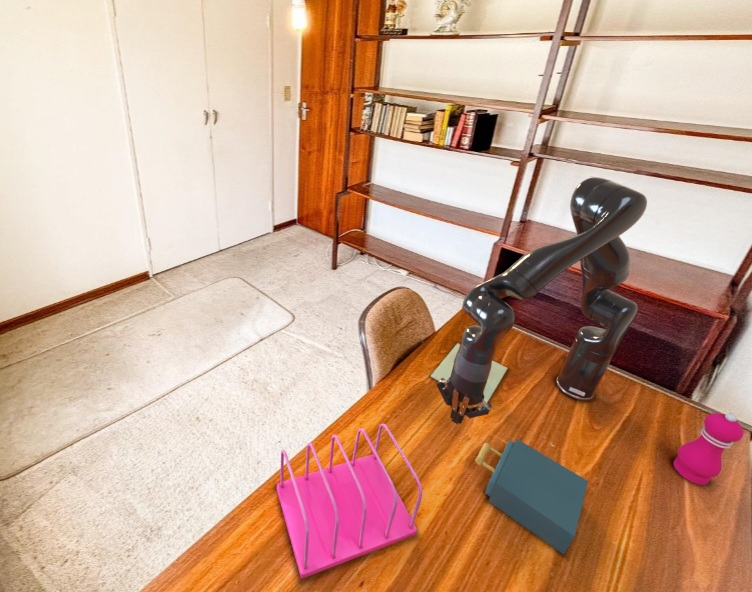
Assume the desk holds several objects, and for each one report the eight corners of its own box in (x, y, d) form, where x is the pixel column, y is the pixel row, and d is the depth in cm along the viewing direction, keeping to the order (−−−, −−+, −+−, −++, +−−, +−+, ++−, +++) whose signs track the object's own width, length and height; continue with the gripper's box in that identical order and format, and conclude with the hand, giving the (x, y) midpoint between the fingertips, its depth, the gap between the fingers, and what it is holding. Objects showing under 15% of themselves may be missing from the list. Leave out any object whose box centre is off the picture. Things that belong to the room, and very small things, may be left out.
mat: (457, 344, 133) (457, 343, 133) (507, 369, 123) (507, 367, 123) (430, 376, 120) (431, 375, 119) (484, 407, 110) (484, 405, 110)
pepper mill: (718, 490, 91) (766, 432, 82) (682, 483, 92) (726, 425, 84) (696, 461, 97) (739, 404, 89) (663, 455, 99) (702, 398, 90)
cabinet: (488, 501, 87) (495, 482, 84) (509, 456, 97) (516, 438, 94) (563, 554, 78) (574, 536, 75) (577, 499, 88) (588, 481, 85)
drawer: (466, 479, 90) (470, 466, 88) (486, 441, 99) (491, 428, 97) (552, 540, 80) (560, 527, 78) (566, 491, 89) (574, 478, 87)
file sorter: (276, 488, 88) (277, 441, 81) (375, 457, 95) (384, 412, 89) (301, 580, 73) (304, 532, 66) (416, 535, 81) (430, 488, 74)
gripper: (507, 375, 88) (488, 427, 96) (449, 346, 96) (437, 396, 104) (495, 394, 83) (477, 448, 91) (436, 362, 91) (424, 414, 99)
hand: (455, 420), depth 97 cm, fingers closed
